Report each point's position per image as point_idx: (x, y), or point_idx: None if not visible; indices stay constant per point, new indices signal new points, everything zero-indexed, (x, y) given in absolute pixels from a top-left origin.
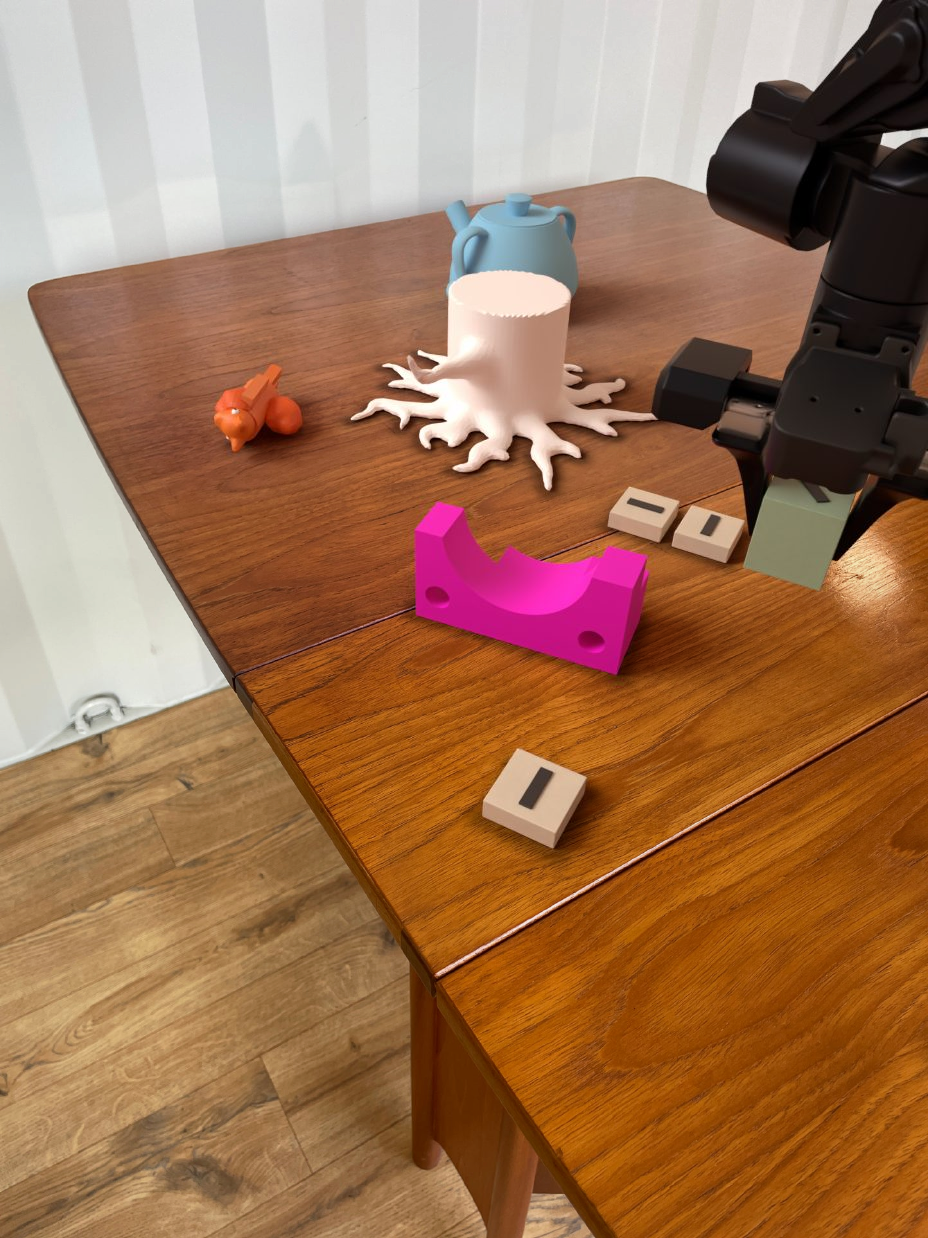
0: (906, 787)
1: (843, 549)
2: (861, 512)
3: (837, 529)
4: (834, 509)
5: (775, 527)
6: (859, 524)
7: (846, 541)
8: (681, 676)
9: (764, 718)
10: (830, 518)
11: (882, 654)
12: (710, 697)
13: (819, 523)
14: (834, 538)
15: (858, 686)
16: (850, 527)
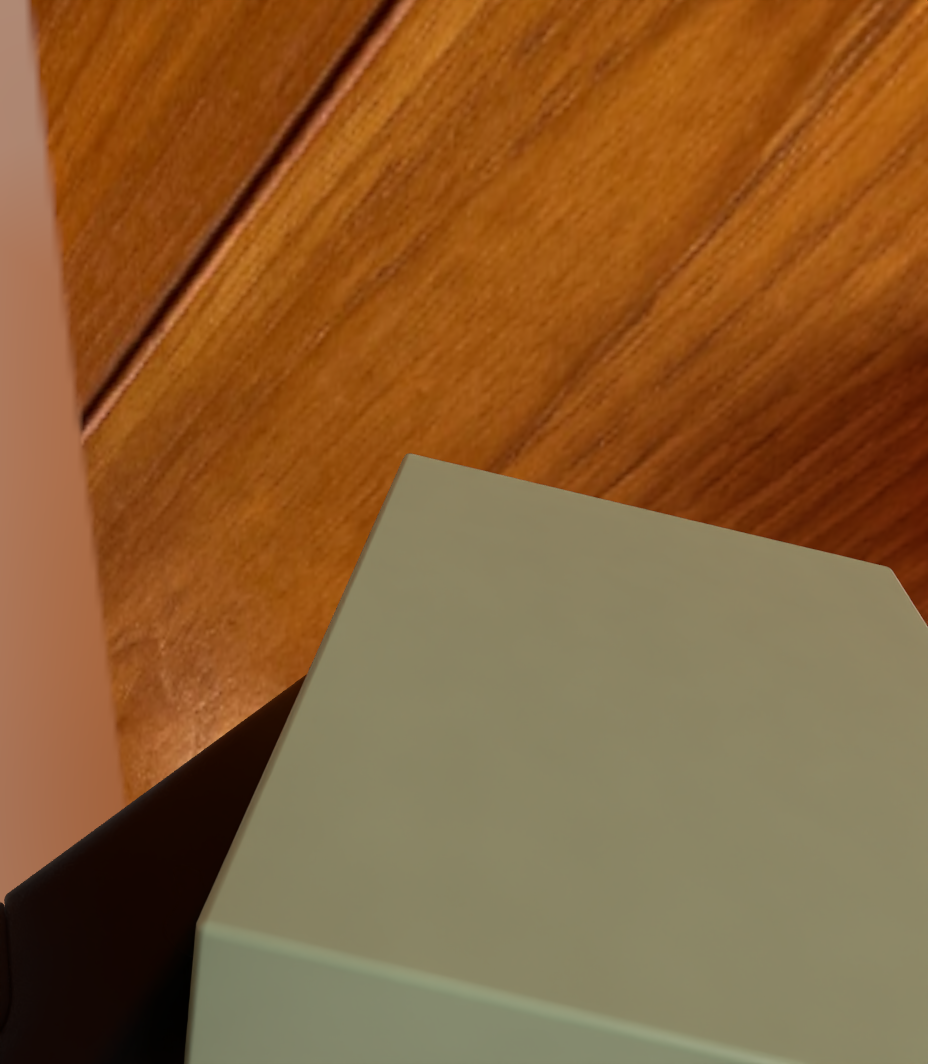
0: (64, 8)
1: (270, 726)
2: (47, 1059)
3: (309, 809)
4: None
5: (888, 811)
6: (106, 915)
7: (245, 774)
8: (808, 340)
9: (527, 209)
10: (399, 934)
11: (191, 585)
12: (711, 262)
13: (510, 867)
14: (336, 725)
15: (244, 440)
16: (199, 882)
